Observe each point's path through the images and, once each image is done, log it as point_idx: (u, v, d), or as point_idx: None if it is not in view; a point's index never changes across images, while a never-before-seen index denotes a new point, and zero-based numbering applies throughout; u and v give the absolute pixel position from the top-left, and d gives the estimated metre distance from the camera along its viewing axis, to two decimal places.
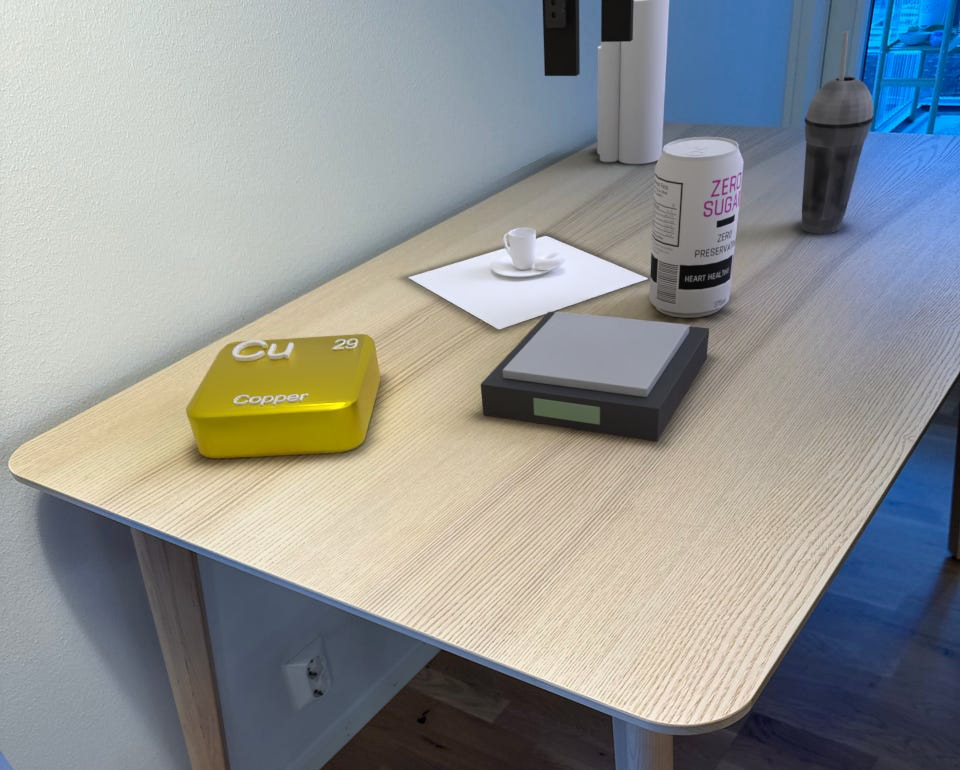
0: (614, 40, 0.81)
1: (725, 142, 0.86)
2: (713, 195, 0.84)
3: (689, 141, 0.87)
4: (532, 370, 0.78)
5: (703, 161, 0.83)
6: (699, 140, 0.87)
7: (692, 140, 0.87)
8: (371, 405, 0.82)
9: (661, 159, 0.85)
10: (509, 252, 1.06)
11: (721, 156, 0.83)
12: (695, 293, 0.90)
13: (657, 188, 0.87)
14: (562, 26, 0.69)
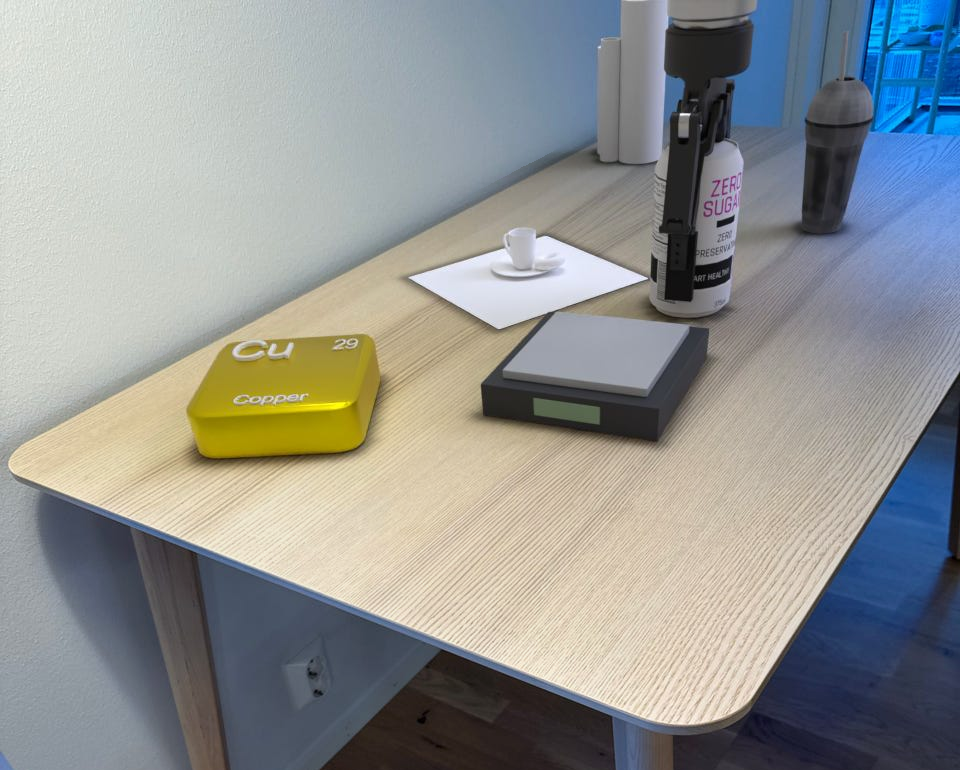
0: None
1: (725, 142, 0.86)
2: (713, 195, 0.84)
3: None
4: (532, 370, 0.78)
5: None
6: None
7: None
8: (371, 405, 0.82)
9: (661, 159, 0.85)
10: (509, 252, 1.06)
11: (721, 156, 0.83)
12: (696, 293, 0.90)
13: (657, 188, 0.87)
14: (683, 269, 0.87)
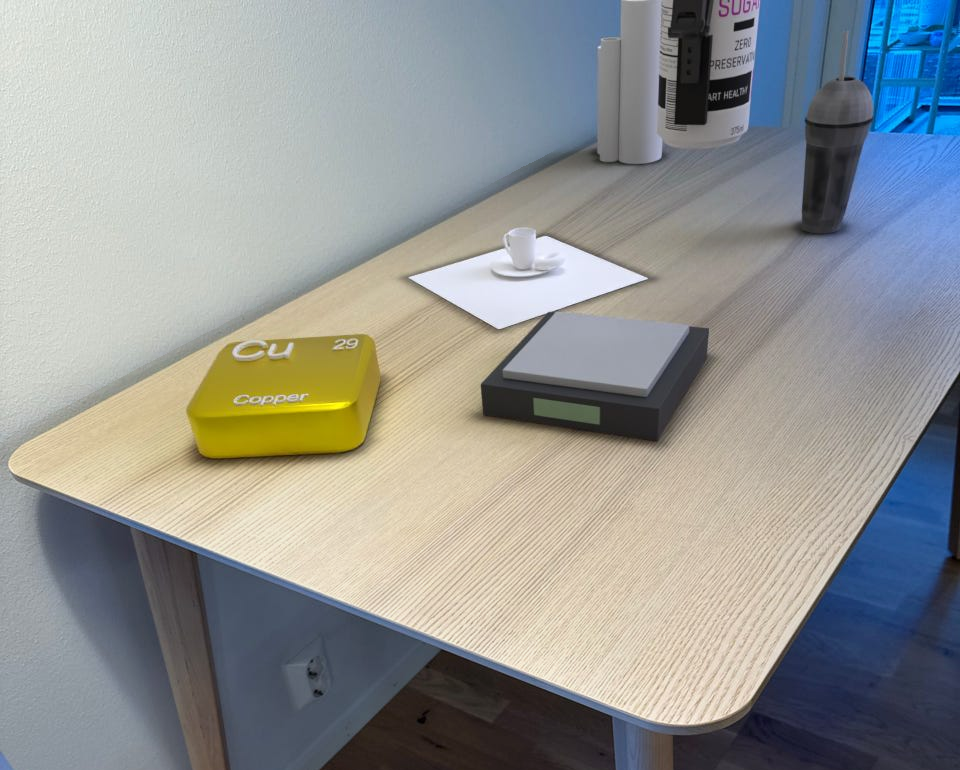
0: None
1: None
2: None
3: None
4: (532, 370, 0.78)
5: None
6: None
7: None
8: (371, 405, 0.82)
9: None
10: (509, 252, 1.06)
11: None
12: (710, 116, 0.79)
13: None
14: (696, 82, 0.76)
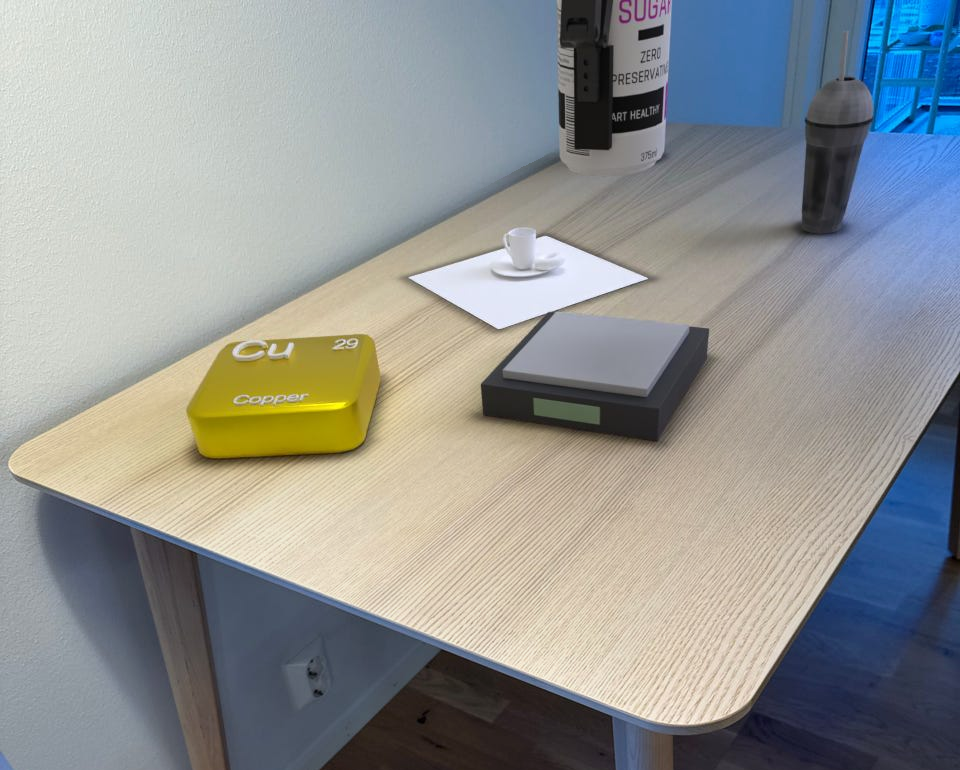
0: None
1: None
2: None
3: None
4: (532, 370, 0.78)
5: None
6: None
7: None
8: (371, 405, 0.82)
9: None
10: (509, 252, 1.06)
11: None
12: (615, 139, 0.68)
13: None
14: (595, 100, 0.65)
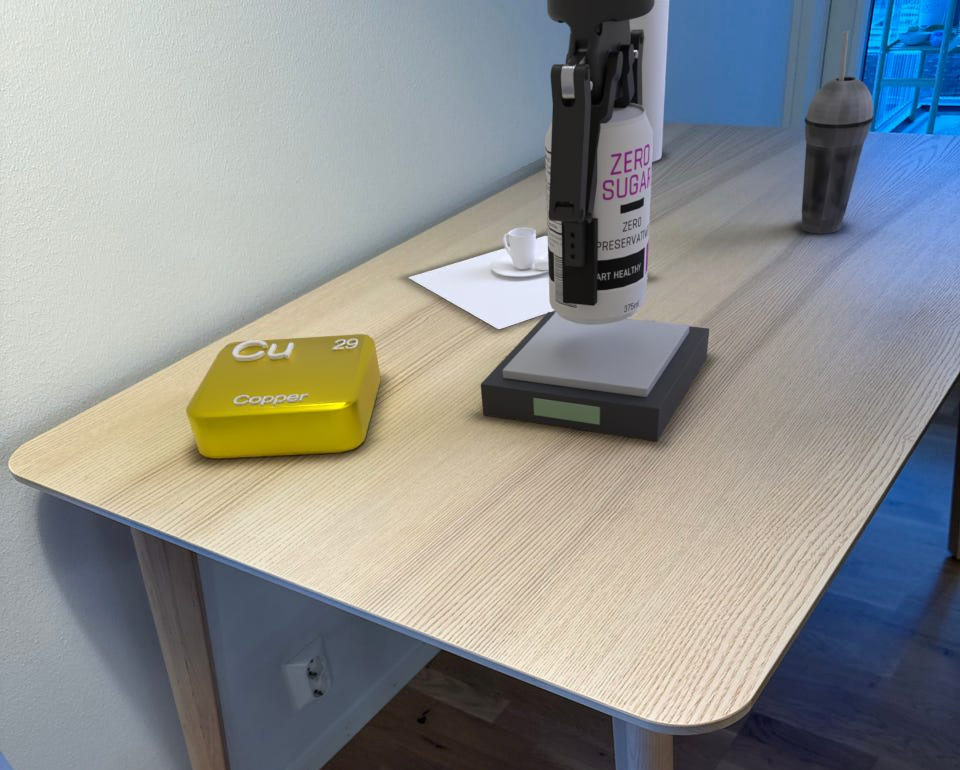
0: None
1: (631, 107, 0.69)
2: (613, 172, 0.67)
3: None
4: (532, 370, 0.78)
5: None
6: None
7: None
8: (371, 405, 0.82)
9: (550, 128, 0.69)
10: (509, 252, 1.06)
11: (621, 123, 0.66)
12: (600, 295, 0.73)
13: (547, 165, 0.70)
14: (581, 266, 0.70)
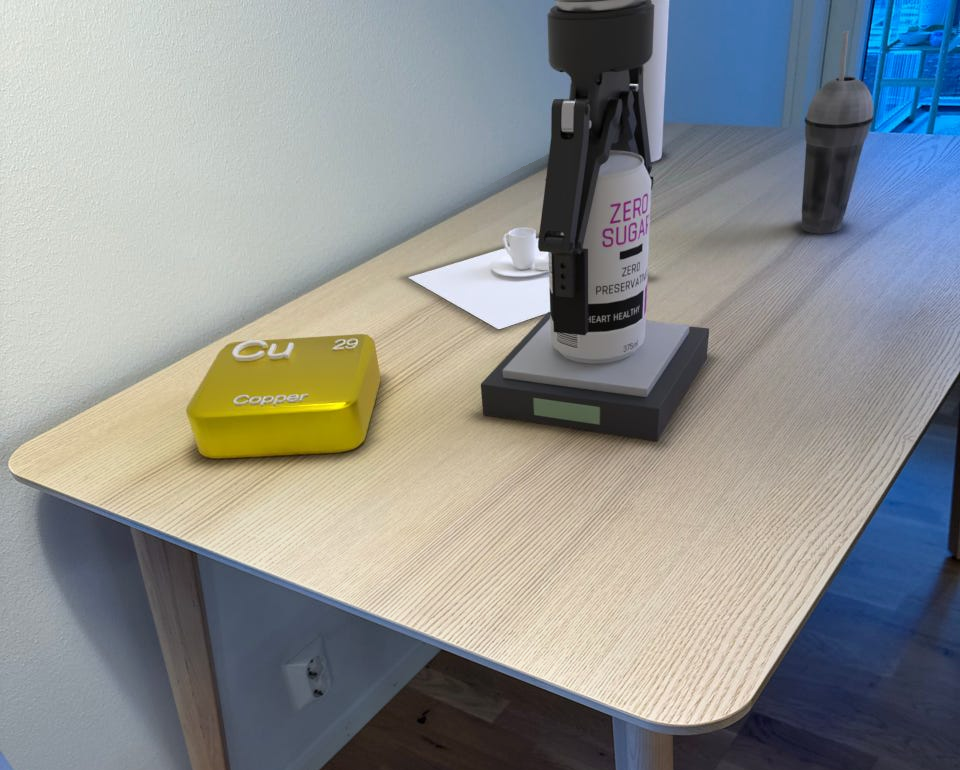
0: None
1: (630, 157, 0.71)
2: (612, 221, 0.70)
3: None
4: (532, 370, 0.78)
5: (598, 180, 0.68)
6: None
7: None
8: (371, 405, 0.82)
9: None
10: (509, 252, 1.06)
11: (620, 175, 0.68)
12: (600, 336, 0.76)
13: None
14: (571, 296, 0.70)
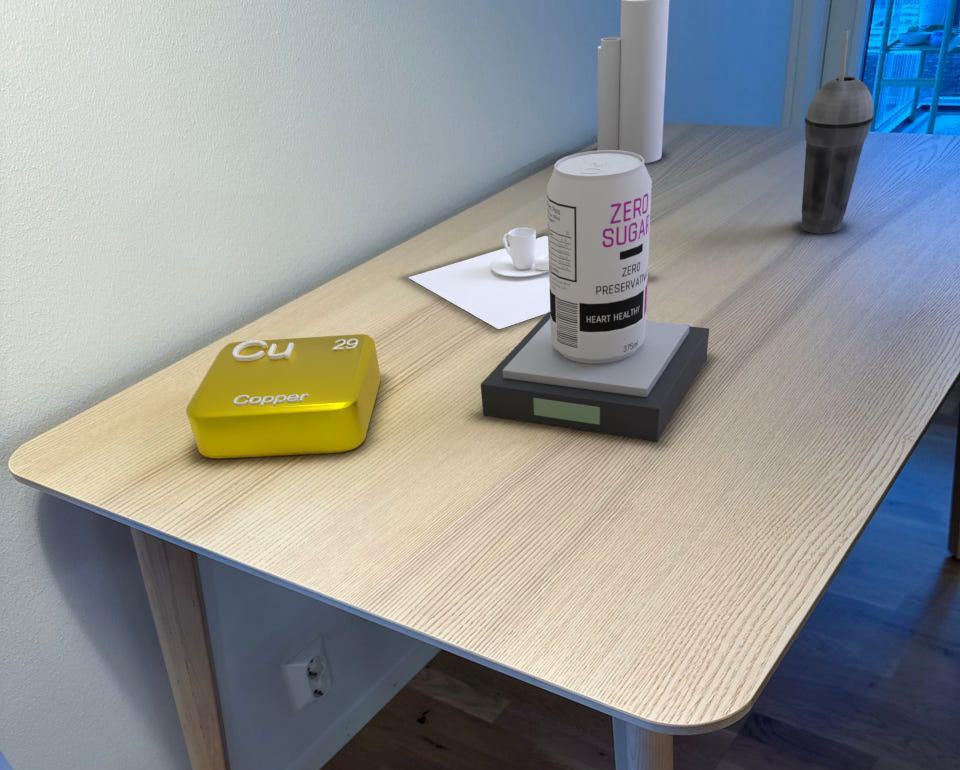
0: None
1: (630, 157, 0.71)
2: (613, 221, 0.70)
3: (588, 155, 0.73)
4: (532, 370, 0.78)
5: (598, 180, 0.68)
6: (600, 154, 0.73)
7: (592, 154, 0.73)
8: (371, 405, 0.82)
9: (552, 177, 0.71)
10: (509, 252, 1.06)
11: (620, 175, 0.68)
12: (600, 336, 0.76)
13: (549, 212, 0.72)
14: None
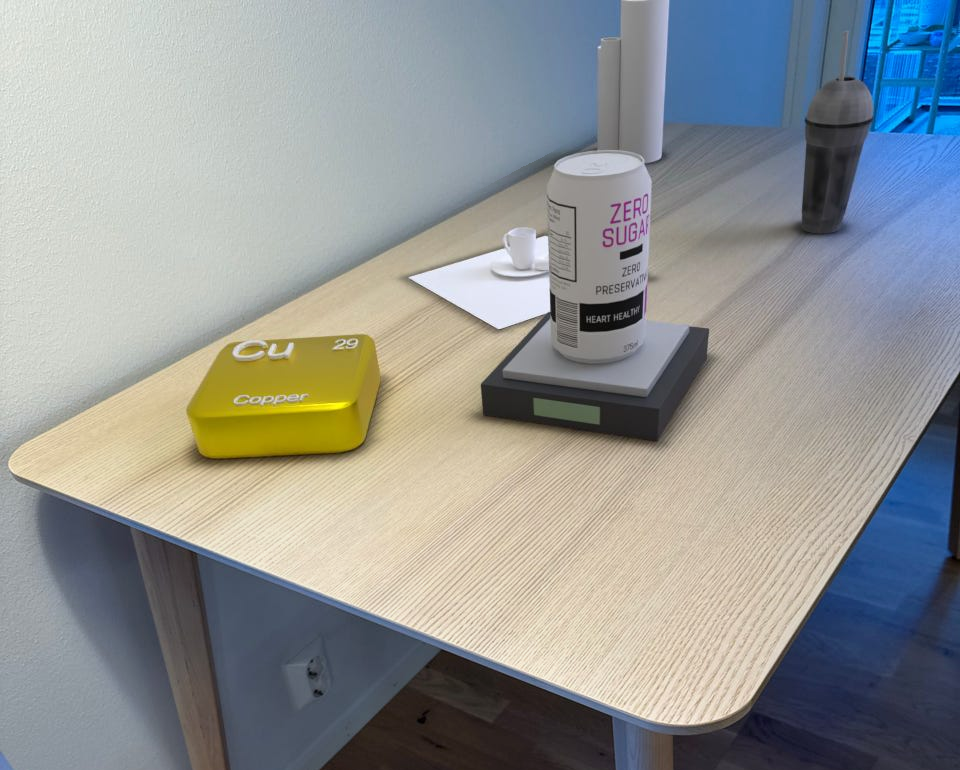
0: None
1: (630, 157, 0.71)
2: (613, 221, 0.70)
3: (588, 155, 0.73)
4: (532, 370, 0.78)
5: (598, 180, 0.68)
6: (600, 154, 0.73)
7: (592, 154, 0.73)
8: (371, 405, 0.82)
9: (552, 177, 0.71)
10: (509, 252, 1.06)
11: (620, 175, 0.68)
12: (600, 336, 0.76)
13: (549, 212, 0.72)
14: None
